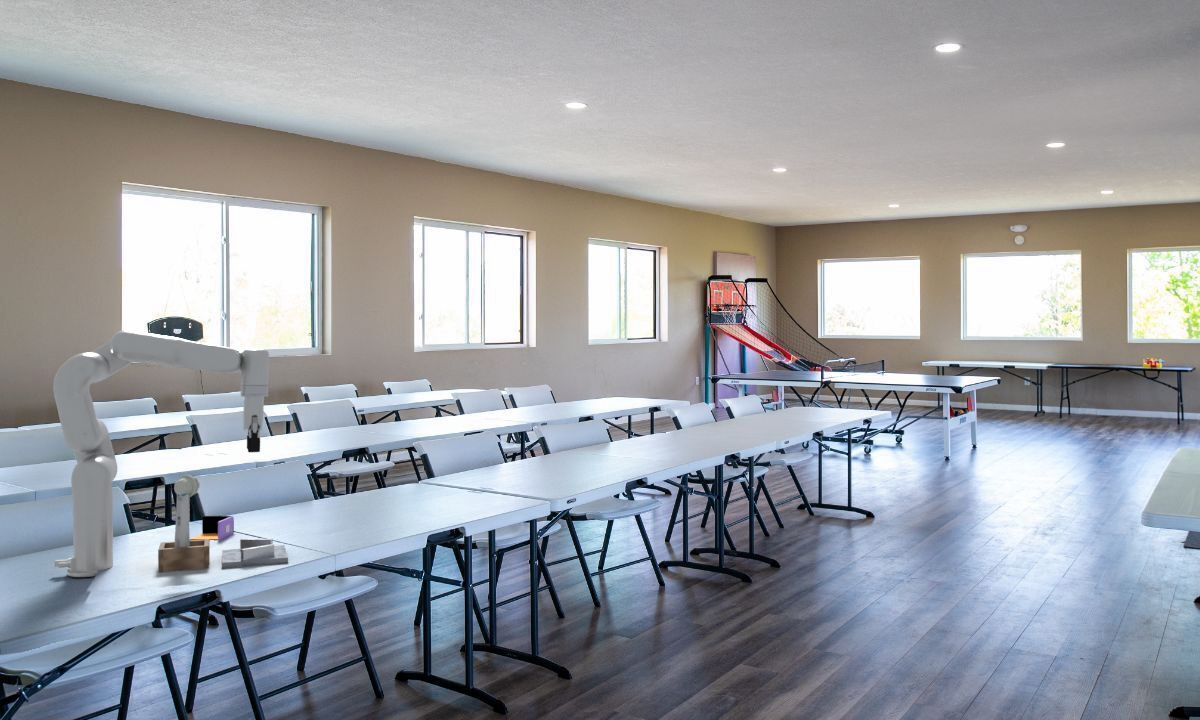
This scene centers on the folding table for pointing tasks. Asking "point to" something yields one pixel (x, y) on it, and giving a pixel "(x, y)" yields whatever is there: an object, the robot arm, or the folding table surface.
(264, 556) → the v block
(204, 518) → the dollhouse room
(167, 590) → the folding table surface
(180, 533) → the handheld massager
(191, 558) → the open wooden box
